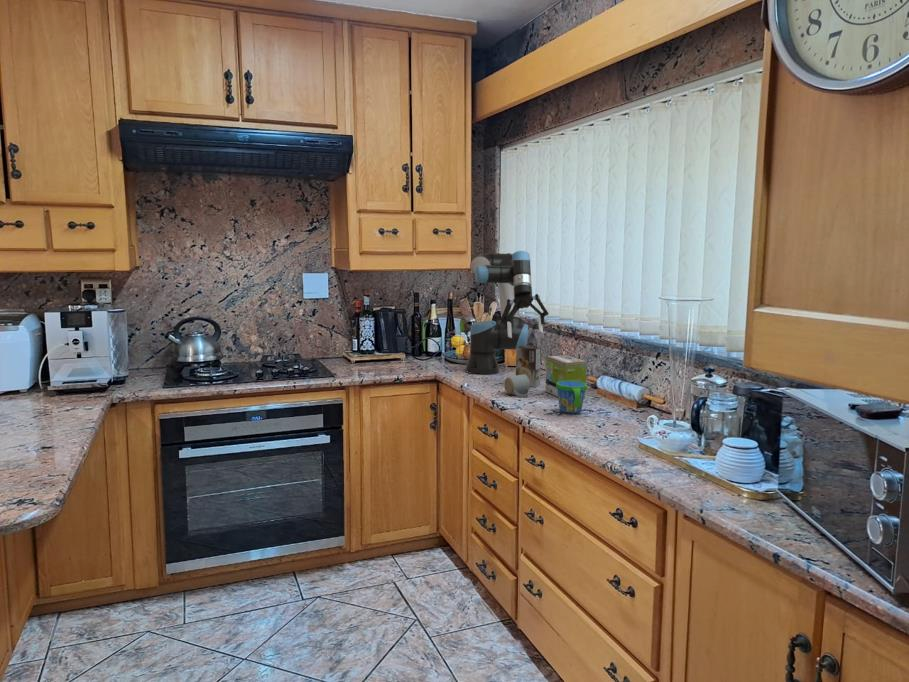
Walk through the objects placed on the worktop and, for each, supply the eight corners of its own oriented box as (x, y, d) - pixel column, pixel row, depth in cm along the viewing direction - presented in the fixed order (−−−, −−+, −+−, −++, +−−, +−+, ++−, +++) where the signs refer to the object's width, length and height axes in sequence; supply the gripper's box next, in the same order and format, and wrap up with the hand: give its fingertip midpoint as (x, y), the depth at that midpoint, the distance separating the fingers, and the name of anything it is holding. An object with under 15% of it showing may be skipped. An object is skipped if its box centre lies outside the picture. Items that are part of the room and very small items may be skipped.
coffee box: (540, 385, 279) (542, 347, 277) (535, 387, 274) (536, 349, 272) (520, 382, 284) (521, 345, 282) (514, 385, 278) (515, 347, 276)
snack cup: (590, 417, 225) (591, 388, 224) (559, 417, 225) (560, 387, 224) (580, 406, 241) (582, 379, 240) (551, 406, 241) (552, 378, 239)
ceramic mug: (502, 393, 263) (503, 373, 262) (520, 391, 266) (521, 372, 265) (515, 399, 253) (516, 379, 252) (534, 397, 256) (535, 377, 255)
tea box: (544, 392, 265) (545, 355, 263) (566, 390, 269) (567, 354, 267) (563, 400, 251) (564, 361, 250) (586, 398, 255) (587, 360, 253)
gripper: (491, 289, 282) (493, 336, 276) (548, 278, 272) (551, 327, 265) (498, 294, 288) (500, 341, 282) (553, 284, 278) (557, 332, 272)
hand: (525, 334), depth 274 cm, fingers open, 13 cm apart
